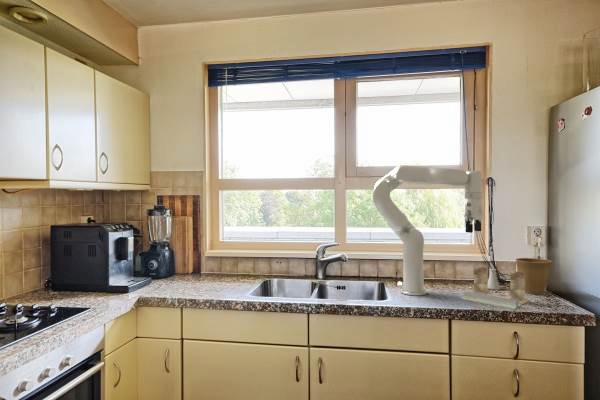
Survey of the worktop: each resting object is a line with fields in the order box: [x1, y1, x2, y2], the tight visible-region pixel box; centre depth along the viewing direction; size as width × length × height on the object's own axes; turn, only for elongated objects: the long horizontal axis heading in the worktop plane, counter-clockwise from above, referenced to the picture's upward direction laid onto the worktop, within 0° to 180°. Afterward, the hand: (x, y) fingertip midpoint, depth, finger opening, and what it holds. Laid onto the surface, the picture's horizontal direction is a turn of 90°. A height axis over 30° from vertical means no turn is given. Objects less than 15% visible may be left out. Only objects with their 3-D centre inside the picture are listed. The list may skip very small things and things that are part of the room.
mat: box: [461, 296, 521, 310], centre depth 166 cm, size 22×8×1 cm, turn 42°
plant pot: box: [515, 257, 552, 295], centre depth 182 cm, size 15×15×16 cm
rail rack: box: [473, 266, 529, 305], centre depth 173 cm, size 22×8×13 cm, turn 42°
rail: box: [463, 289, 518, 307], centre depth 166 cm, size 22×3×3 cm, turn 42°
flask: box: [488, 268, 501, 291], centre depth 191 cm, size 7×7×10 cm
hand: (473, 231), depth 180 cm, fingers open, 9 cm apart
